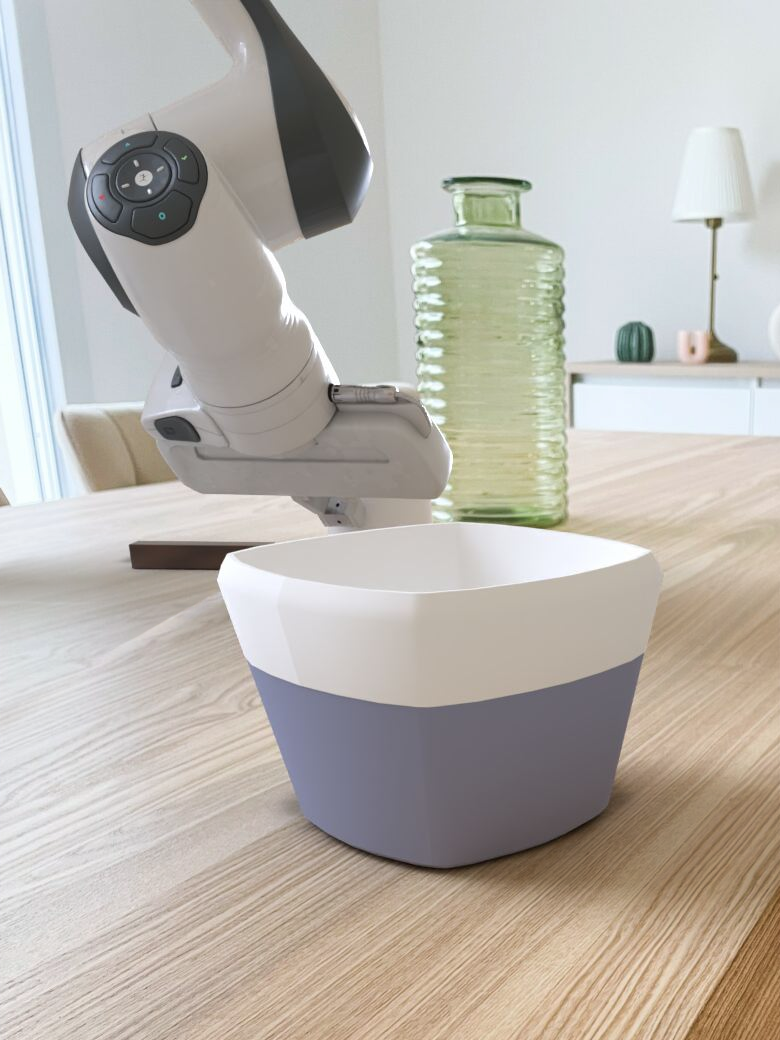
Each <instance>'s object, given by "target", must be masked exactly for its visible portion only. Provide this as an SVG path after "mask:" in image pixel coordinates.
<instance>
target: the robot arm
mask: <svg viewBox="0 0 780 1040" xmlns="http://www.w3.org/2000/svg"><path fill="white" fill-rule="evenodd" d="M188 1H189V2H190V4H191V5H192V6H193V8H194V9H195V11H196V12H197V13H198V15H199V16H200V17H201V20H202V21H203V22H204V23H205V25H206V26H207V27H208V29H209V30H210V32H211V33H212V34H213V36H214V38H215V39H216V40H217V42H218V43H219V44H220V46H221V47H222V49H223V50H224V51H225V53H226V54H227V56H228V57H229V59H230V60H231V61H232V66H231V68H230V70H229V72H227V74H225V76H224V77H222V78H220V79H219V80H217V81H215V82H213V83H211V84H209V85H206V86H205V87H202V88H200V89H198V90H196V91H195V92H192V93H190V94H188V95H185V96H184V97H182V98H179V99H177V100H175V101H173V102H171V103H169V104H167V105H165V106H163V107H161V108H159V109H157V110H154V111H153V112H151V113H150V112H146V113H144V114H142V115H140V116H139V117H136V118H133V119H131V120H130V121H128V122H126V123H123V124H120V126H117V127H116V128H113V129H111V130H110V131H107V132H105V133H103V134H102V135H99V136H97V137H96V138H95V139H93V140H91V141H90V142H89V143H88V144H86V145H85V146H84V147H81V148H79V151H78V153H77V155H76V157H75V160H74V164H73V167H72V171H71V176H70V181H69V187H68V195H67V204H66V205H67V211H68V215H69V218H70V219H69V220H70V222H71V224H72V227H73V229H74V230H73V231H74V232H75V234H76V236H77V238H78V240H79V242H80V244H81V246H82V247H83V250H84V251H85V252H86V254H87V256H88V257H89V259H90V261H91V262H92V263H93V265H94V267H95V268H96V270H97V272H99V274H100V276H101V278H103V280H104V281H105V283H106V284H107V286H108V288H109V289H110V290H111V292H112V293H113V294H114V296H115V298H116V299H117V300H118V303H120V305H121V307H122V308H124V309H125V310H127V311H128V312H130V313H131V314H133V315H135V316H137V317H138V318H140V319H141V320H142V322H143V324H144V325H145V326H146V328H147V330H148V332H149V333H150V334H151V336H152V337H153V339H154V340H155V341H156V342H157V343H158V344H159V345H160V346H161V347H162V348H163V349H164V350H165V351H166V352H165V354H164V356H163V357H162V359H161V361H160V364H159V365H158V368H157V369H156V372H155V374H154V376H153V377H152V381H151V383H150V386H149V389H148V392H147V394H146V397H145V401H144V404H143V407H142V411H141V416H140V422H139V423H140V424H141V426H142V428H143V429H144V430H145V431H146V433H147V434H148V435H149V436H151V438H153V439H155V445H156V448H157V449H158V451H159V453H160V455H161V456H162V458H163V460H164V462H166V464H167V466H168V467H169V468H170V470H171V471H172V473H173V474H174V475H175V476H176V478H177V479H178V480H179V481H180V482H181V483H182V485H184V486H185V487H187V488H189V489H191V490H193V491H194V492H197V493H199V494H201V495H233V496H237V495H238V496H239V495H240V496H273V497H274V496H275V497H279V496H280V497H290V498H291V500H292V501H293V502H295V503H296V504H298V505H300V506H301V507H303V508H304V509H306V510H308V511H309V512H311V513H313V514H314V515H317V516H318V518H319V520H320V522H321V523H322V525H323V526H324V528H325V527H326V528H328V527H355V528H361V527H362V526H363V523H364V520H365V516H366V509H365V507H364V505H363V503H362V501H361V499H360V498H394V499H431V500H437V499H438V498H440V497H441V496H442V494H443V493H444V491H445V490H446V487H447V485H448V483H449V479H450V477H451V474H452V473H451V472H452V467H453V461H454V459H453V458H454V455H453V452H452V450H451V447H450V446H449V444H448V441H447V440H446V439H445V437H444V435H443V434H442V431H441V430H440V428H439V427H438V426H437V423H436V422H435V420H433V418H432V416H431V415H430V414H429V411H428V410H427V407H426V405H425V404H424V402H423V401H422V400H421V398H419V397H418V396H413V395H411V394H409V393H407V392H405V391H401V390H399V388H398V387H397V386H394V385H390V384H377V385H375V386H374V385H373V386H370V385H369V386H367V385H362V384H341V383H340V380H339V377H338V374H337V373H336V371H335V369H334V367H333V364H332V363H331V361H330V359H329V357H328V356H327V354H326V352H325V350H324V348H323V346H322V344H321V342H320V339H319V338H318V337H317V334H316V333H315V330H314V328H313V327H312V324H311V322H310V321H309V319H308V318H307V316H306V315H305V313H304V312H303V310H302V309H301V308H300V307H299V306H298V305H297V304H296V303H295V302H294V301H293V300H292V299H291V298H290V295H289V293H288V290H287V284H286V278H285V275H284V272H283V270H282V267H281V265H280V263H279V261H278V259H277V257H276V256H275V253H276V252H278V251H279V250H282V249H284V248H285V247H288V246H290V245H292V244H295V243H296V242H299V241H300V240H302V239H305V240H309V239H312V238H314V237H317V236H320V235H323V234H325V233H328V232H331V231H333V230H337V229H339V228H342V227H345V226H347V225H350V224H352V223H354V220H355V218H356V217H357V215H358V213H359V211H360V210H361V207H362V205H363V202H364V200H365V198H366V196H367V192H368V189H369V187H370V183H371V180H372V177H373V176H372V175H373V172H374V162H373V159H372V156H371V151H370V147H369V143H368V139H367V135H366V133H365V131H364V128H363V126H362V124H361V121H360V119H359V118H358V116H357V113H356V112H355V110H354V108H353V106H352V105H351V103H350V102H349V100H348V98H347V97H346V95H345V94H344V93H343V91H342V90H341V89H340V87H339V86H338V85H337V84H336V82H334V80H333V79H332V77H331V76H329V74H328V73H327V72H326V71H325V70H324V69H323V68H322V67H321V66H320V65H319V64H318V63H317V61H315V59H314V58H313V56H312V55H311V54H310V53H309V51H308V50H307V48H306V47H305V46H304V45H303V44H302V42H301V41H300V39H299V38H298V37H297V36H296V34H295V33H294V31H293V30H292V29H291V28H290V26H289V25H288V24H287V22H286V21H285V19H284V18H283V16H282V15H281V14H280V12H279V11H278V10H277V8H276V7H275V5H274V4H273V2H272V1H271V0H188Z"/></svg>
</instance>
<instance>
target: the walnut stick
mask: <svg viewBox="0 0 780 1040" xmlns="http://www.w3.org/2000/svg"><path fill="white" fill-rule="evenodd" d="M274 543H277V542H276V541H206V540H203V541H202V540H201V541H197V540H196V541H195V540H193V541H191V540H190V541H189V540H136V541H134V542H132V543H129V544H128V549H129V556H130V563H131V568H132V569H154V570H155V569H159V570H160V569H161V570H162V569H164V570H165V569H168V570H174V569H175V570H220V568H221V565H222V563H223V561H224V559H225V557H226V555H227V554H228V553H232V552H236V551H240V550H244V549H248V548H252V547H256V546H262V545H268V544H274Z"/></svg>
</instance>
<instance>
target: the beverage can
mask: <svg viewBox="0 0 780 1040" xmlns="http://www.w3.org/2000/svg"><path fill="white" fill-rule="evenodd" d="M360 499H361V501H362V503H363V505H364V507H365V509H366V516H365V520H364V523H363V526H362V527H361V528H355V527H327V529H328V535H331V534H339V533H347V532H355V531H363V530H371V529H380V528H390V527H399V526H408V525H419V524H433V523H434V522H433V511H432V507H433V506H432V499H394V498H360Z"/></svg>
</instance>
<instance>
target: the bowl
mask: <svg viewBox="0 0 780 1040" xmlns="http://www.w3.org/2000/svg"><path fill="white" fill-rule="evenodd" d="M432 523H433V524H419V525H408V526H399V527H390V528H380V529H371V530H363V531H355V532H347V533H339V534H331V535H329V534H324V535H318V536H312V537H305V538H299V539H292V540H286V541H281V542H280V541H279V542H276V543H274V544H268V545H262V546H256V547H252V548H248V549H244V550H240V551H236V552H232V553H228V554H227V555H226V557H225V559H224V561H223V563H222V565H221V568H220V569H219V570H218V571H219V572H218V574H217V578H216V581H217V585H218V587H219V590H220V593H221V595H222V598H223V601H224V605H225V607H226V609H227V612H228V615H229V617H230V620H231V623H232V626H233V628H234V632H235V634H236V636H237V639H238V642H239V645H240V648H241V651H242V653H243V656H244V658H245V659H246V662H247V664H248V667H249V670H250V672H251V676H252V677H253V681H254V683H255V686H256V689H257V692H258V695H259V697H260V700H261V702H262V706H263V708H264V711H265V713H266V717H267V720H268V722H269V725H270V727H271V728H270V729H271V730H272V734H273V735H274V739H275V741H276V744H277V746H278V750H279V751H280V755H281V757H282V760H283V763H284V766H285V769H286V772H287V774H288V777H289V780H290V783H291V785H292V788H293V790H294V794H295V796H296V800H297V802H298V804H299V807H300V810H301V813H302V814H303V816H304V817H305V819H306V820H308V821H309V822H311V823H312V824H313V825H315V826H316V827H317V828H319V829H320V830H322V831H323V832H325V834H327V835H329V836H331V837H333V838H335V839H336V840H339V841H341V842H343V843H345V844H347V845H349V846H351V847H353V848H355V849H358V850H361V851H364V852H367V853H369V854H372V855H375V856H379V857H382V858H387V859H391V860H394V861H398V862H401V863H406V864H411V865H415V866H419V867H427V868H432V869H433V868H434V869H452V868H457V867H464V866H469V865H475V864H477V863H482V862H486V861H489V860H492V859H496V858H500V857H505V856H509V855H512V854H515V853H519V852H522V851H526V850H528V849H532V848H535V847H537V846H540V845H543V844H546V843H548V842H550V841H553V840H554V839H557V838H559V837H561V836H563V835H566V834H567V833H570V832H571V831H573V830H575V829H576V828H578V827H580V826H582V825H583V824H586V823H587V822H589V821H590V820H592V819H594V818H595V817H597V816H598V815H600V814H601V813H602V812H603V811H604V810H605V809H606V808H607V807H608V806H609V804H610V799H611V794H612V790H613V786H614V782H615V778H616V774H617V770H618V766H619V761H620V757H621V753H622V749H623V744H624V740H625V736H626V731H627V727H628V723H629V720H630V715H631V711H632V706H633V702H634V698H635V695H636V690H637V686H638V681H639V677H640V673H641V669H642V666H643V660H644V656H645V653H646V651H647V647H648V644H649V639H650V636H651V631H652V627H653V623H654V618H655V614H656V609H657V606H658V602H659V597H660V594H661V590H662V589H661V588H662V584H663V580H664V576H665V574H664V572H663V569H662V567H661V564H660V562H659V560H658V558H657V557H656V556H655V554H654V552H653V551H652V550H651V549H647V548H645V547H643V546H639V545H636V544H633V543H629V542H624V541H619V540H615V539H610V538H604V537H599V536H593V535H587V534H579V533H574V532H566V531H559V530H551V529H544V528H537V527H529V526H521V525H520V526H518V525H517V526H516V525H511V524H510V525H508V524H500V523H499V524H498V523H483V522H468V521H450V522H448V521H447V522H436V523H434V522H432Z"/></svg>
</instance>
